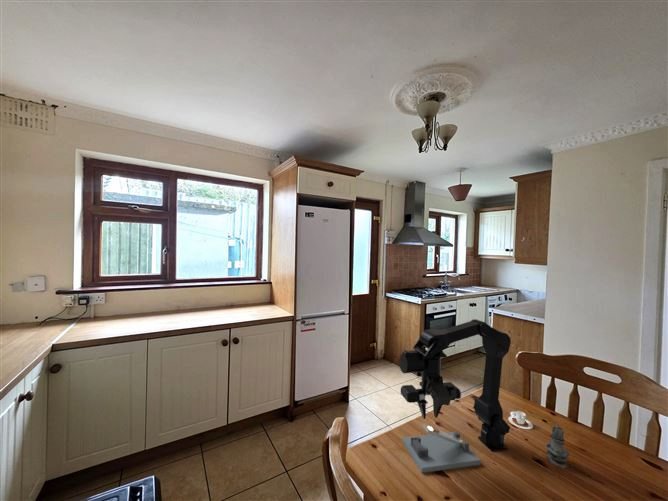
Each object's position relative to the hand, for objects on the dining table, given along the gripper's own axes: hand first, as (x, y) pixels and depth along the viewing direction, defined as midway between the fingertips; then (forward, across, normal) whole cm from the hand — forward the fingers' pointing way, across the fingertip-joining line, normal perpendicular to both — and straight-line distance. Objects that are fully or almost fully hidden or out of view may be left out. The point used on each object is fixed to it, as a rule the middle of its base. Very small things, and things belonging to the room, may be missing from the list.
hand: (429, 417), depth 87 cm
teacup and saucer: (+13, +48, +10) cm, 51 cm away
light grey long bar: (+7, +5, 0) cm, 9 cm away
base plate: (+12, +4, 0) cm, 13 cm away
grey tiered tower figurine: (+12, +40, -9) cm, 43 cm away
